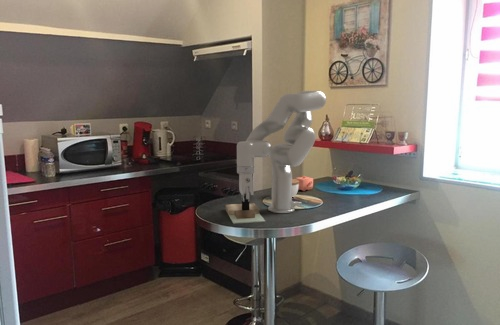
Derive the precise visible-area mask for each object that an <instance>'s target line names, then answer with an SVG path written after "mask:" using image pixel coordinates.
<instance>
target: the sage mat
mask: <svg viewBox="0 0 500 325" xmlns="http://www.w3.org/2000/svg"><path fill="white" fill-rule="evenodd" d="M228 216H229V218H230V220H231V222H232V224H233V225H235V224H248V223H249V224H250V223H262V222H263V223H265V222H266V220H265V218H264V217H263V216H262V215H261V214H260V213H259V214H255V218H244V219H237V218H236V216H235V215H228Z"/></svg>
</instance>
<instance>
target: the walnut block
mask: <svg viewBox="0 0 500 325" xmlns="http://www.w3.org/2000/svg"><path fill="white" fill-rule="evenodd" d="M235 216H236V218H237V219H244V218H255V213H254V212H253V211H252V210H245V211H243V210H240V211H235Z"/></svg>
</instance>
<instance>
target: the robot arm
mask: <svg viewBox="0 0 500 325" xmlns="http://www.w3.org/2000/svg"><path fill="white" fill-rule="evenodd" d="M326 103H327V97H326V95H325V93H324V92H322V91H320V90H302V91H299V92H298V93H286V94H283V95H281V97H280V98H279V100H278V102H276V105H275V106H274V107H273V109H272V110H271V112H270V114H269V116H268V117H267V118H266V119H265V120H263V121H262V122H260V123H259V124H258V125H257V126H255V128H253V130H251V132H250V133H249V135H248V137H247V138H246V140H245V141H244V140H243V141H239V142H237V144H236V173H237V174H238V177H239V178H238V183H239V184H238V187H239V190H238V191H239V193H240V195H241V204H242V210H243V211H245V210H249V203H250V195H251V196H252V197H253V196H254V178H253V174H254V173H255V158H267V157H269V161H270V165H271V205H269V206H268V207H267V208H268V211H270V212H271V213H275V214H289V213H293V212H295V211H296V209H295V208H296V207H302V204H303V203H302V201H297V200H296V201H293V198H292V179H293V173H292V172H293V171H292V168H291V167H299V166H300V165H301V164H302V163H303V162H304V161H305V159H306V157H307V156H308V154H309V152H310V151H311V149H312V148H313V146H314V144H315V141H316V132H315V131H314V129H313V128H311V126H312V124H313V116H312V111H317V110H321V109H322V108H324V106H326ZM294 113H295V116H294V118H293V119H292V122H291V123H290V124H289V126H288V128H287V129H286V130H285V133H284V134H283V140H284V142H285V143H286V144H285V143H277V144H274V145H271V143H270V142H268V141H266V140H265V139H266V137H268V136H271V135H272V134H274V133H278V132H279V131H281V130H283V129H284V128H285V126H286V125H287V123H288V122H289V120H290V118H291V116H292V114H294Z"/></svg>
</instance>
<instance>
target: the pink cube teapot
mask: <svg viewBox="0 0 500 325" xmlns="http://www.w3.org/2000/svg"><path fill="white" fill-rule="evenodd" d="M294 179H296V180H299V188H298V191H302V192H306V190H307V191H311V189H314V178H313V177H309V176H306V175H302V176H300V177H295V178H294Z"/></svg>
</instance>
